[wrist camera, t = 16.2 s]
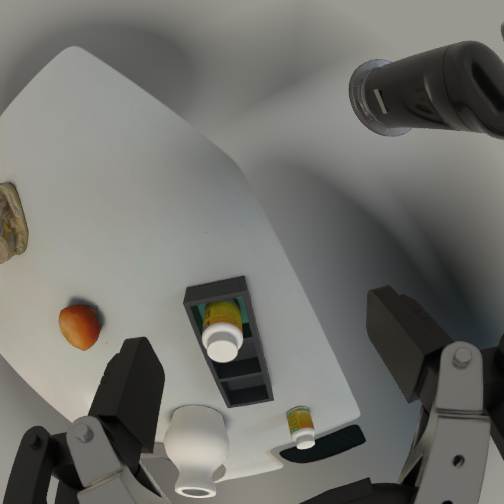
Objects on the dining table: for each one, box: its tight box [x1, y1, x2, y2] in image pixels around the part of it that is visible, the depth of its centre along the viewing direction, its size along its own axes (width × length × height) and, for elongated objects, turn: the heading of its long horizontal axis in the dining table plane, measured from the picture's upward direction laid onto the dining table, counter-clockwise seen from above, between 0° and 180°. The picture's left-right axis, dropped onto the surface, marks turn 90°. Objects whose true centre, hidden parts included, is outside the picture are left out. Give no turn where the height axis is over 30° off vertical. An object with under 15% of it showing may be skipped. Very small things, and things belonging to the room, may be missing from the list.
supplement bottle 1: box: [202, 298, 243, 362], centre depth 39 cm, size 6×6×10 cm
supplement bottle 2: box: [287, 407, 315, 449], centre depth 53 cm, size 5×5×10 cm
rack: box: [183, 276, 274, 408], centre depth 45 cm, size 9×26×4 cm, turn 11°
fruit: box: [59, 305, 102, 351], centre depth 40 cm, size 8×8×8 cm
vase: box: [164, 405, 229, 498], centre depth 47 cm, size 14×14×20 cm
